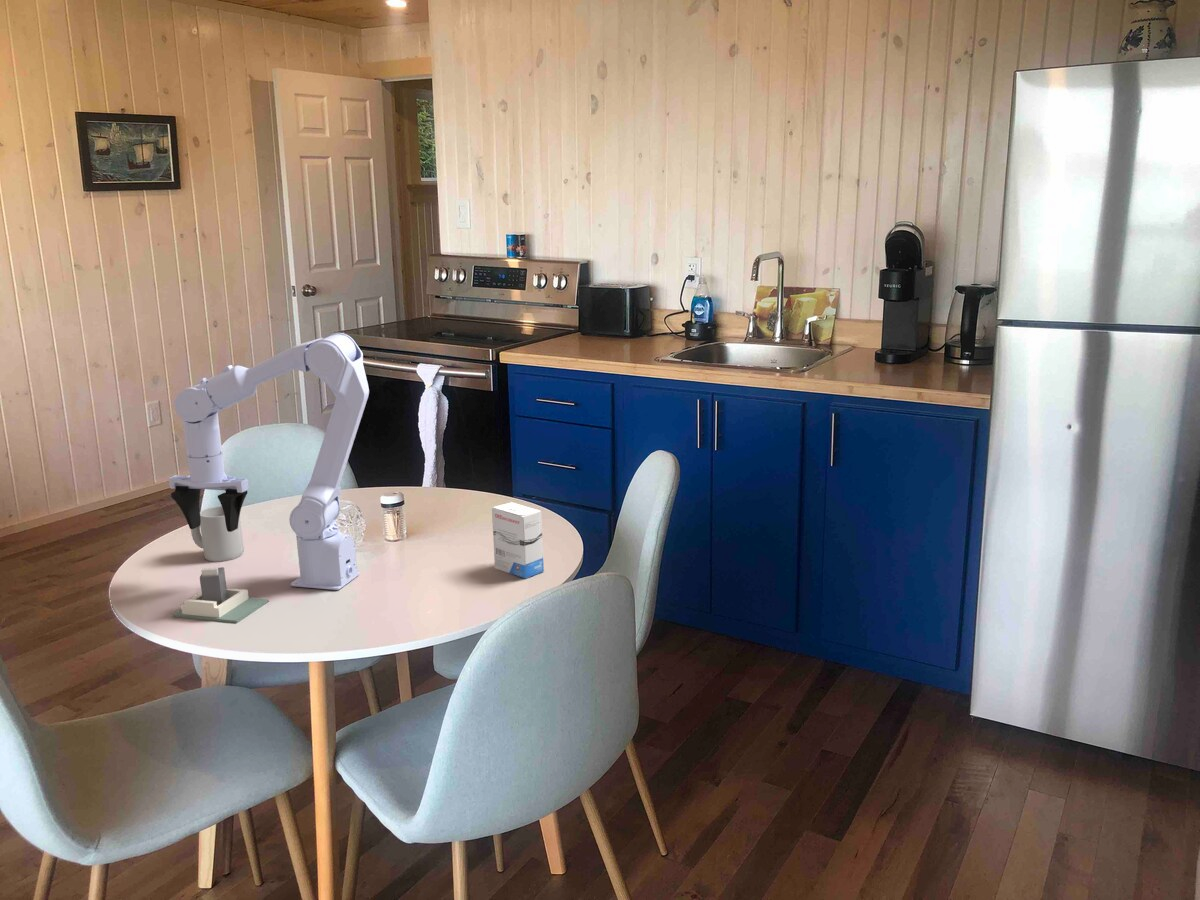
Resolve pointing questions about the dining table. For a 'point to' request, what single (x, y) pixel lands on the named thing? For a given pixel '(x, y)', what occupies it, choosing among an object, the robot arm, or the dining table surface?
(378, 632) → the dining table surface
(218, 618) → the board
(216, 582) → the plug
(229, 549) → the cup
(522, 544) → the ink box
